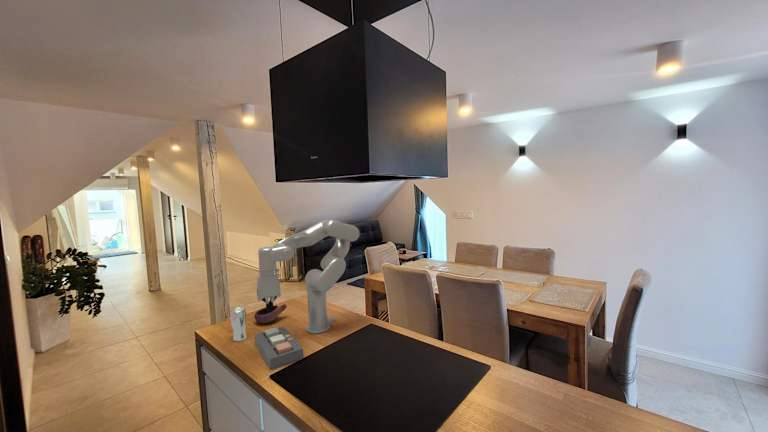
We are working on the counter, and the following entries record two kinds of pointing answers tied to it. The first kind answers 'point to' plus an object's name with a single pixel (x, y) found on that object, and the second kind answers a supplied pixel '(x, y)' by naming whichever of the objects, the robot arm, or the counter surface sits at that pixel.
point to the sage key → (271, 332)
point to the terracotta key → (283, 348)
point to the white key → (276, 340)
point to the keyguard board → (271, 355)
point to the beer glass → (238, 323)
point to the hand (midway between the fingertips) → (269, 310)
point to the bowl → (269, 314)
